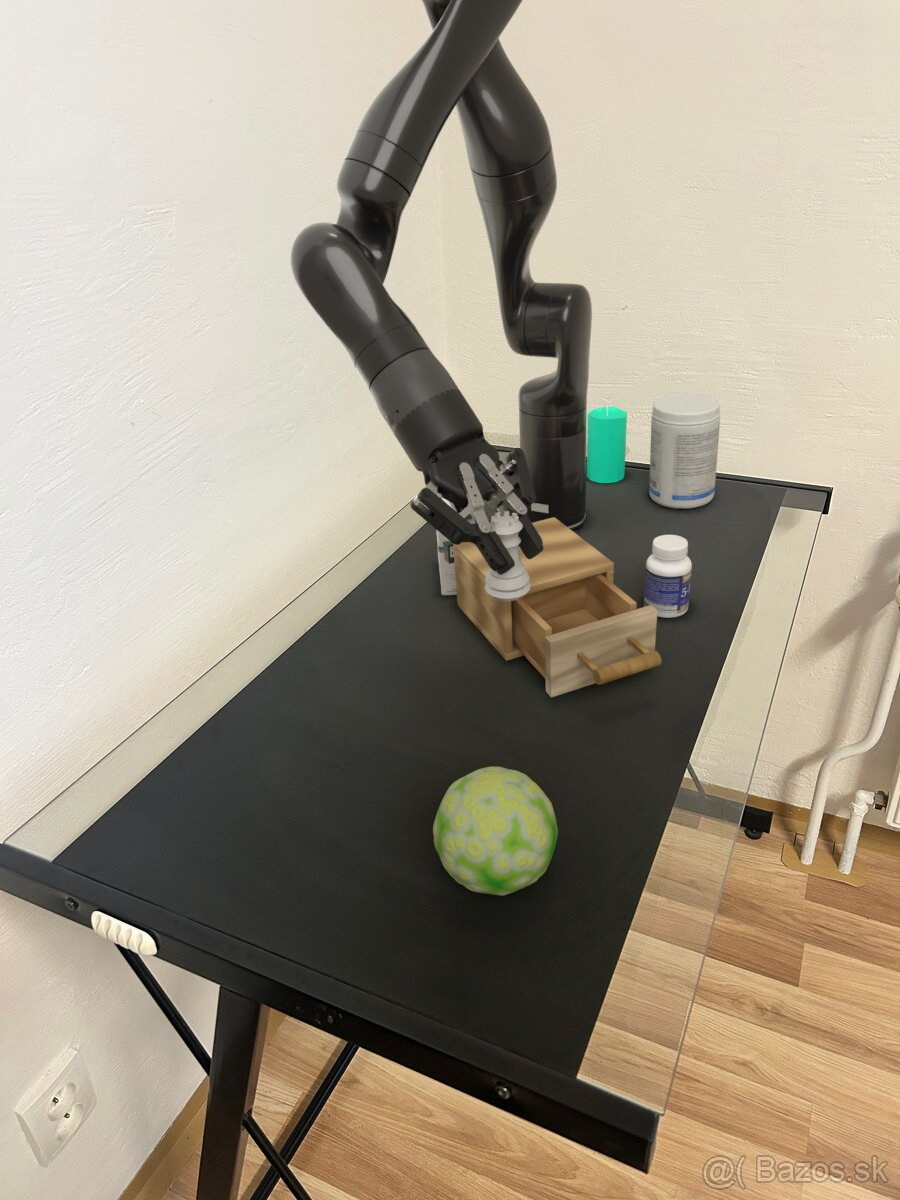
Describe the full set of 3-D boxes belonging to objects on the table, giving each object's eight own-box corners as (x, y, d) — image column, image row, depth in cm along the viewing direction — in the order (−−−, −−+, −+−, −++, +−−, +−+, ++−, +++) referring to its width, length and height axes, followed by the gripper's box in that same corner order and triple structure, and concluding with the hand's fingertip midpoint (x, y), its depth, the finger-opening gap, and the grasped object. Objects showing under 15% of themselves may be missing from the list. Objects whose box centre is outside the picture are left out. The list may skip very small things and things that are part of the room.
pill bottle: (688, 620, 104) (694, 553, 99) (643, 618, 105) (646, 552, 100) (687, 597, 108) (693, 532, 103) (644, 595, 109) (647, 531, 105)
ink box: (439, 564, 120) (432, 484, 114) (475, 561, 120) (471, 481, 113) (441, 596, 112) (434, 512, 106) (480, 593, 112) (475, 509, 106)
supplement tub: (723, 492, 133) (732, 397, 126) (699, 516, 127) (707, 418, 119) (663, 480, 138) (668, 389, 131) (636, 503, 132) (641, 408, 124)
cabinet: (612, 628, 103) (614, 562, 99) (506, 661, 99) (503, 593, 94) (554, 578, 114) (554, 516, 110) (457, 605, 110) (452, 542, 106)
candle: (601, 486, 138) (603, 412, 132) (579, 474, 143) (580, 402, 137) (632, 477, 140) (635, 404, 134) (609, 465, 145) (611, 394, 139)
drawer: (682, 688, 91) (686, 632, 87) (575, 725, 87) (575, 668, 84) (593, 610, 105) (594, 559, 102) (498, 638, 101) (495, 587, 98)
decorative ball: (569, 915, 69) (569, 821, 64) (442, 929, 68) (432, 836, 63) (547, 823, 77) (545, 735, 72) (434, 835, 77) (424, 747, 72)
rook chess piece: (478, 599, 85) (473, 525, 81) (494, 576, 88) (490, 504, 84) (522, 606, 83) (520, 530, 79) (536, 582, 87) (535, 509, 83)
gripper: (383, 410, 77) (488, 576, 75) (496, 369, 85) (593, 518, 83) (353, 453, 83) (450, 607, 82) (461, 411, 91) (551, 551, 89)
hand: (522, 561), depth 82 cm, fingers closed on rook chess piece, 3 cm apart
